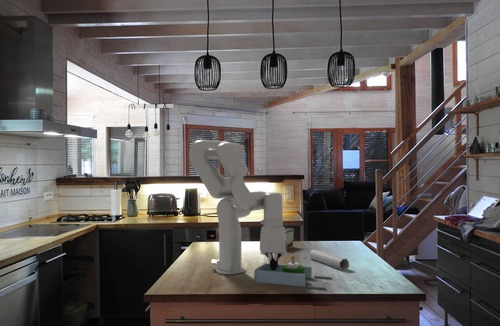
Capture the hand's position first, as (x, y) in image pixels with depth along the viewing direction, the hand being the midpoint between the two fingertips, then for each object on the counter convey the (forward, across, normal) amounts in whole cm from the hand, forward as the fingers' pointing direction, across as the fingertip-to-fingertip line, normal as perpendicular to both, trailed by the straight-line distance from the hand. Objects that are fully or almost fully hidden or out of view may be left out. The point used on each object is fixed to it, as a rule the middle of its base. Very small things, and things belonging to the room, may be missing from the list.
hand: (273, 269), depth 166 cm
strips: (+4, +18, 0) cm, 19 cm away
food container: (+4, -12, +60) cm, 61 cm away
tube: (+4, +16, +32) cm, 36 cm away
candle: (+4, +8, 0) cm, 9 cm away
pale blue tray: (+4, +4, 0) cm, 5 cm away
